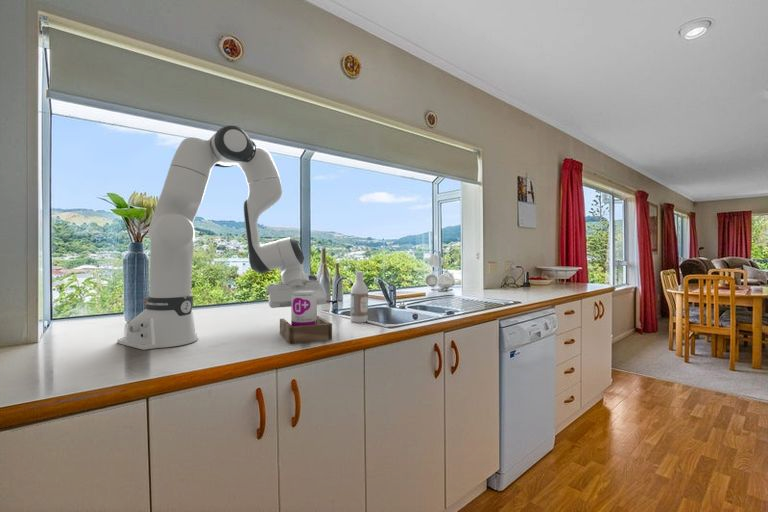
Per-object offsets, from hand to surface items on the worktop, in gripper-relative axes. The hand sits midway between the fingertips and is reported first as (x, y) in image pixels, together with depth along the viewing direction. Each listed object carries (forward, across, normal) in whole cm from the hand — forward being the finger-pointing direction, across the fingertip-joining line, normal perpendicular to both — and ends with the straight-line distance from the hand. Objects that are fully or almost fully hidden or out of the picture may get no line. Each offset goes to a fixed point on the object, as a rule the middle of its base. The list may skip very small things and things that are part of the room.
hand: (301, 314), depth 126 cm
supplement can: (+8, 0, +1) cm, 8 cm away
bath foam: (-3, +26, +12) cm, 29 cm away
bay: (+8, 0, +2) cm, 8 cm away
